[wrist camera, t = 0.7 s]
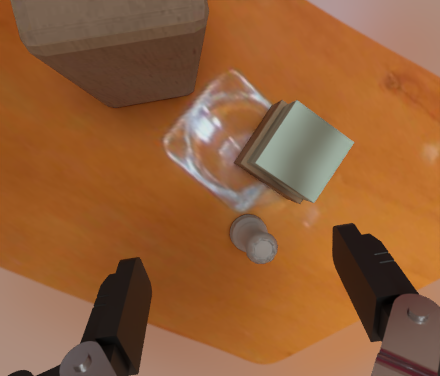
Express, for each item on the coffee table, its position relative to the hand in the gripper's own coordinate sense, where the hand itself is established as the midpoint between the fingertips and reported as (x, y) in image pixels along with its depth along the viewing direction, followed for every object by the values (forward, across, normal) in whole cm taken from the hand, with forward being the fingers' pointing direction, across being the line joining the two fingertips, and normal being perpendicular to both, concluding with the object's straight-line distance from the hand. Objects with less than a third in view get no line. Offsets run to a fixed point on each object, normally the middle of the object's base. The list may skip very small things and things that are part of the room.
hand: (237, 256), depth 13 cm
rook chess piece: (+21, -1, +16) cm, 26 cm away
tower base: (+25, -6, +8) cm, 27 cm away
